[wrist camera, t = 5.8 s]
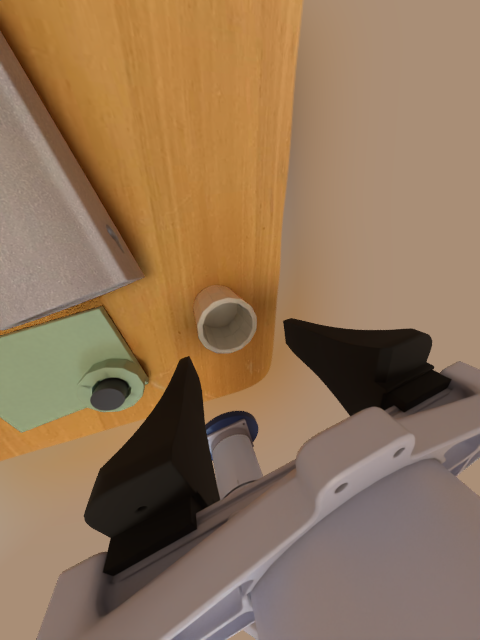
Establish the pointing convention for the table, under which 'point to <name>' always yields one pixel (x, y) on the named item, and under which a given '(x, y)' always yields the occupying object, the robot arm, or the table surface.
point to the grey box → (48, 213)
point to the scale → (63, 368)
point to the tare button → (109, 394)
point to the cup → (223, 319)
